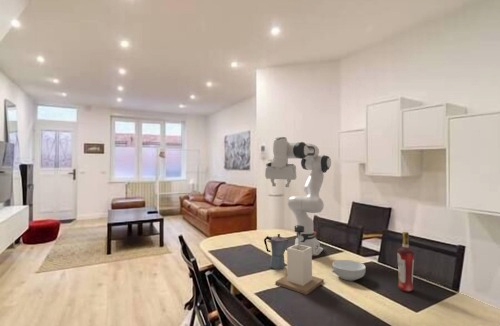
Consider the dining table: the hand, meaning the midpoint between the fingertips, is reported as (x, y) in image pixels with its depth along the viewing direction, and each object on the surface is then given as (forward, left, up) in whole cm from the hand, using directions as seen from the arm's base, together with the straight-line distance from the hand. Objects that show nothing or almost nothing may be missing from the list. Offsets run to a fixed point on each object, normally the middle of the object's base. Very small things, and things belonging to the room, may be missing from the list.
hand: (280, 186), depth 173 cm
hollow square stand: (+15, +21, -48) cm, 55 cm away
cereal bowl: (-8, +39, -48) cm, 62 cm away
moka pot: (+4, -1, -48) cm, 48 cm away
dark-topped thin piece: (+15, +21, -35) cm, 44 cm away
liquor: (-11, +65, -48) cm, 82 cm away
